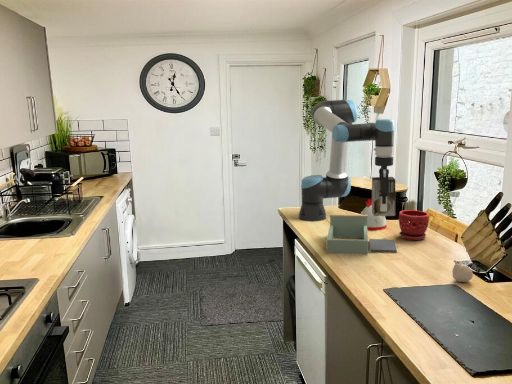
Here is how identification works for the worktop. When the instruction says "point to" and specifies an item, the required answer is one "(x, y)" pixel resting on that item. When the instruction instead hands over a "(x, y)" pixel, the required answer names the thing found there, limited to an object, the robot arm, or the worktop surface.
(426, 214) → the plant pot
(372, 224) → the kitchen timer
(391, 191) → the coffee box
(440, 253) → the worktop surface
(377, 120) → the robot arm
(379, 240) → the rubber mat
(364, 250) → the green drawer
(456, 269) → the garlic bulb
